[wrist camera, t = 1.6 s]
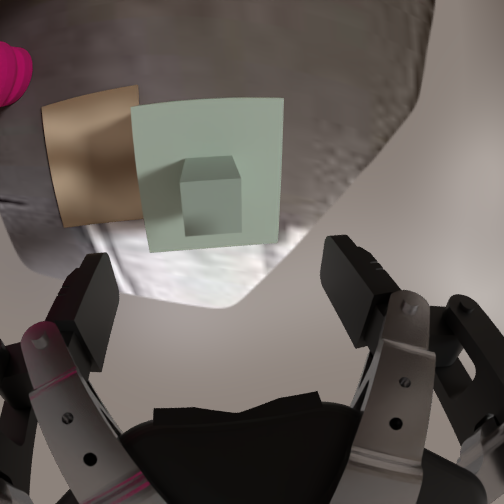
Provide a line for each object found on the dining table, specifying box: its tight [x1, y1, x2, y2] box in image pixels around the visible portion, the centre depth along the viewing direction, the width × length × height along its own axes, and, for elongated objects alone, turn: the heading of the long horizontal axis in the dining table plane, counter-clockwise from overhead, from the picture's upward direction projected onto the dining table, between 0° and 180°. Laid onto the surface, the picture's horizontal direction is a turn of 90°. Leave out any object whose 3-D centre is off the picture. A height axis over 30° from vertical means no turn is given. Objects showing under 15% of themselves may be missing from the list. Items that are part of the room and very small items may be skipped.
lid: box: [131, 97, 284, 253], centre depth 18 cm, size 11×10×7 cm
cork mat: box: [42, 85, 144, 228], centre depth 24 cm, size 13×10×1 cm
